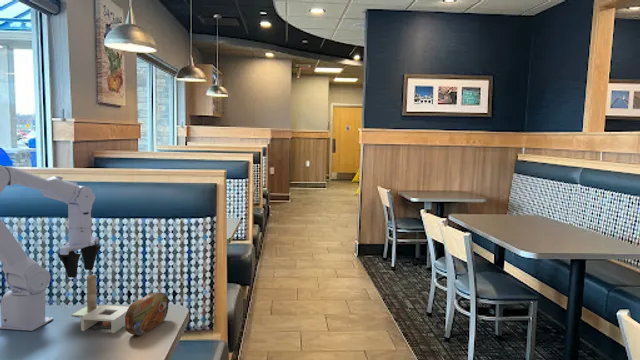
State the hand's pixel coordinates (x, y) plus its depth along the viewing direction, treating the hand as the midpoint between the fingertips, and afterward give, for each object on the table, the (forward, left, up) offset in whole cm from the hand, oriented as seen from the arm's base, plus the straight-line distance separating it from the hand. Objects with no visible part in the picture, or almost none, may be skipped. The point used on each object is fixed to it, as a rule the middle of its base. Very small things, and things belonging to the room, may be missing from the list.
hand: (80, 273), depth 130 cm
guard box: (+15, -11, -10) cm, 21 cm away
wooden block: (+6, -4, -10) cm, 12 cm away
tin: (+26, -11, -10) cm, 30 cm away
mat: (+6, -4, -10) cm, 12 cm away
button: (+15, -11, -10) cm, 21 cm away
